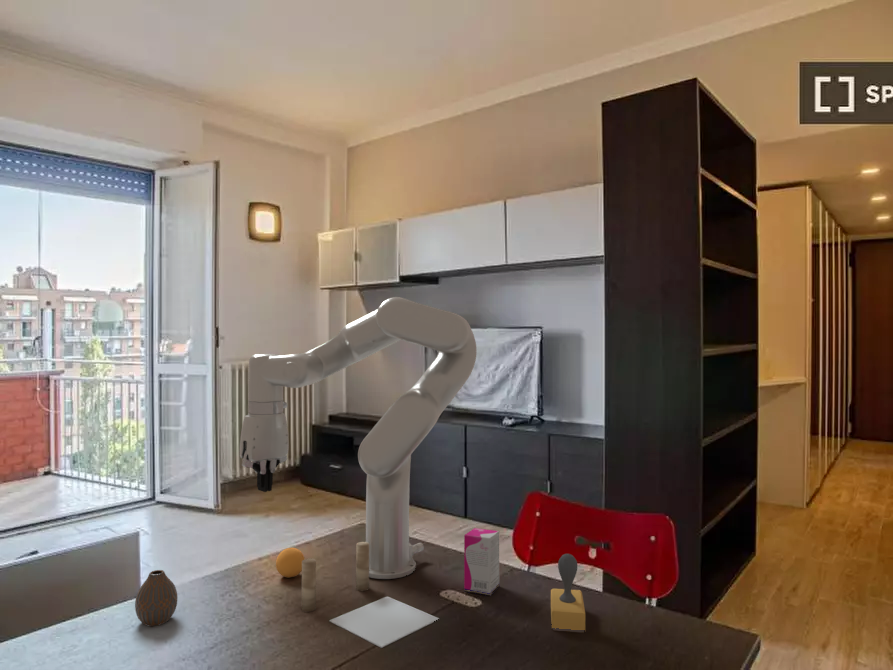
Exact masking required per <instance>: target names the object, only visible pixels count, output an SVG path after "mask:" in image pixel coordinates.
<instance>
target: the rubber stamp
mask: <svg viewBox="0 0 893 670" xmlns="http://www.w3.org/2000/svg"><path fill="white" fill-rule="evenodd" d="M557 569H558V573H559V575H560V579H561V581H562V584H563V585H562V586H563V588H552V589H550V620H551V621H550V623H551V624H552V625H551V629H552V628H555V629H556V628H559V629H571V630H585V631H586V610H585V604H584V597H583V592H582V590H580V589H572V586H573V582H574V580H575V578H576V575H577V571H578V561H577V559H576V557H575V556H574V555H573V554H571V553H564V554H562V555H561V556H560V558H559V560H558V563H557Z"/></svg>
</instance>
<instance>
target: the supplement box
mask: <svg viewBox="0 0 893 670" xmlns="http://www.w3.org/2000/svg"><path fill="white" fill-rule="evenodd" d="M463 540H464V541H463V542H464V544H463V545H464V546H463V548H464V549H463V550H464V551H463V552H464V553H463V554H464V556H463V557H464V559H463V566H464V567H463V590H464V589H465V590H470V591H477V592H482V593H487V594H490V593H491V592H492V591H493V590H494V589H495V588H496V586H497V585H498V584H499V585H500V531H499V530H493V529H486V528H485V529H484V528H478V527H474V528H472V529H471V530H470V531H468V532H467V533H465V534H464V538H463Z"/></svg>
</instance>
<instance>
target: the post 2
mask: <svg viewBox="0 0 893 670" xmlns="http://www.w3.org/2000/svg"><path fill="white" fill-rule="evenodd" d="M355 550H356V551H355V553H356V555H355V556H356V557H355V558H356V559H355V580H356V581H355V589H356V591H359V592H363V591H367V590H369V589H370V577H369V543H368V542H366V541H359V542H357V543H356V546H355Z"/></svg>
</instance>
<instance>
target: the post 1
mask: <svg viewBox="0 0 893 670" xmlns="http://www.w3.org/2000/svg"><path fill="white" fill-rule="evenodd" d="M316 599H317V560H316V558H305V559H304V560H303V561H302V571H301V611H302V612H304V613H310V612H314V611H315V610H316V609H317V606H316V605H317V604H316V603H317V601H316Z"/></svg>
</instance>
